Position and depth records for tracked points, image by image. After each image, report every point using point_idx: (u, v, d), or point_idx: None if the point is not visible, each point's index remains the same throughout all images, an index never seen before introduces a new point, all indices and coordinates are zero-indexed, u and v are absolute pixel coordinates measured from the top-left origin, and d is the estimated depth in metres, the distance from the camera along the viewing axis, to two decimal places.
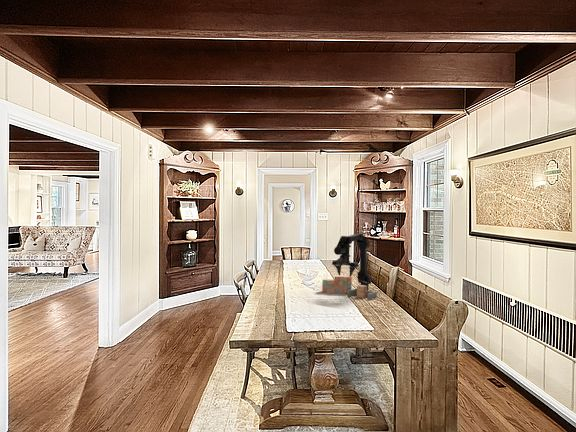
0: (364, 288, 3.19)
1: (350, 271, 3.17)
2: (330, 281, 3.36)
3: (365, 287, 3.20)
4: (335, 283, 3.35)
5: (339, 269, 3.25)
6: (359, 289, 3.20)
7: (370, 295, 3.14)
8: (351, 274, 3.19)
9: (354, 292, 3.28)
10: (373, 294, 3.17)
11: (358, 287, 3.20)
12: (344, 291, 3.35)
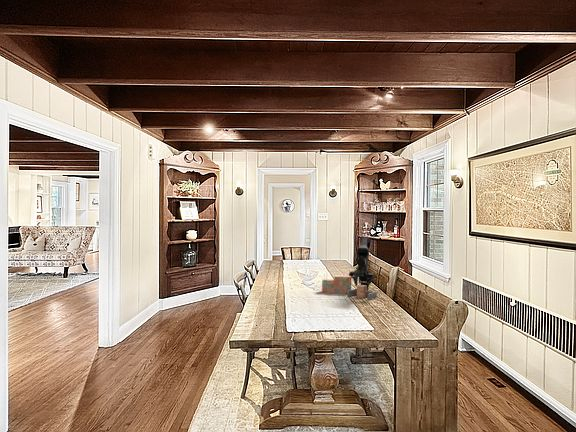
0: (364, 288, 3.19)
1: (367, 282, 3.17)
2: (330, 281, 3.36)
3: (365, 287, 3.20)
4: (335, 283, 3.35)
5: (356, 280, 3.25)
6: (359, 289, 3.20)
7: (370, 295, 3.14)
8: (368, 285, 3.18)
9: (354, 292, 3.28)
10: (373, 294, 3.17)
11: (358, 287, 3.20)
12: (344, 291, 3.35)
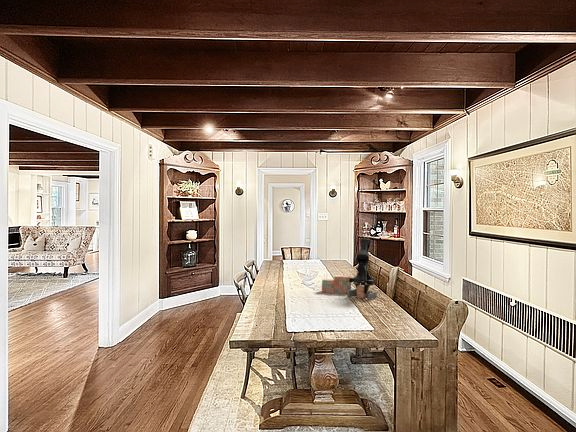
0: (364, 288, 3.19)
1: (365, 288, 3.18)
2: (330, 281, 3.36)
3: None
4: (334, 283, 3.35)
5: None
6: (359, 289, 3.20)
7: (370, 295, 3.14)
8: (366, 291, 3.19)
9: (354, 292, 3.28)
10: (373, 294, 3.17)
11: (358, 287, 3.20)
12: (344, 291, 3.35)
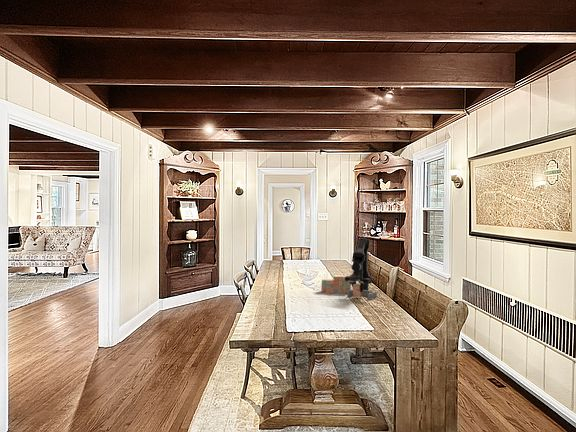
0: (360, 287, 3.15)
1: (361, 287, 3.14)
2: (329, 281, 3.36)
3: None
4: (334, 283, 3.35)
5: None
6: (355, 288, 3.15)
7: (370, 295, 3.14)
8: (362, 290, 3.15)
9: None
10: (373, 294, 3.17)
11: (354, 285, 3.16)
12: (343, 291, 3.35)
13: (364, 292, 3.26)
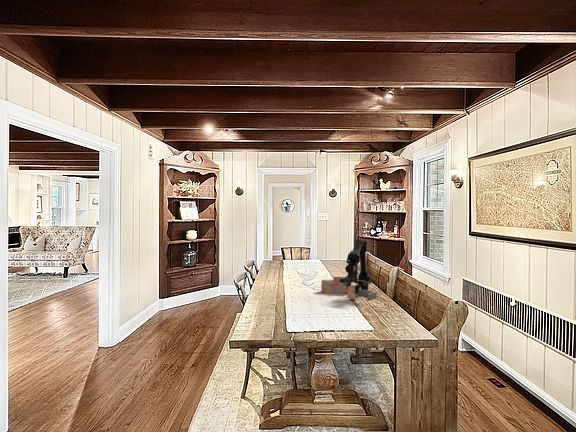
0: (355, 288, 3.10)
1: (356, 289, 3.09)
2: (329, 281, 3.36)
3: None
4: (334, 283, 3.35)
5: None
6: (350, 289, 3.10)
7: (370, 295, 3.14)
8: (357, 292, 3.10)
9: None
10: (373, 294, 3.17)
11: (349, 287, 3.11)
12: (343, 291, 3.35)
13: (364, 292, 3.26)
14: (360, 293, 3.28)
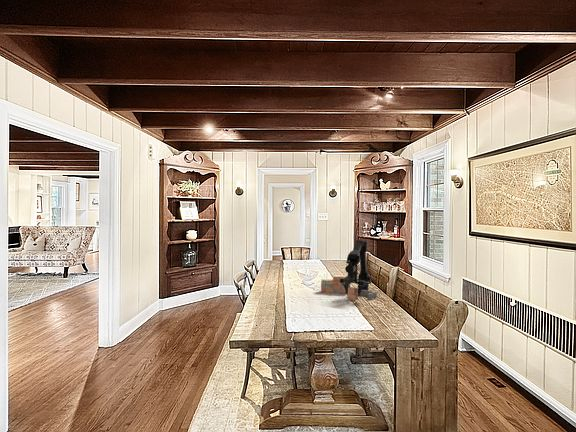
0: (355, 290, 3.10)
1: (358, 290, 3.08)
2: (329, 281, 3.36)
3: (356, 289, 3.11)
4: (334, 283, 3.35)
5: (347, 287, 3.15)
6: (350, 291, 3.11)
7: (370, 295, 3.14)
8: (359, 293, 3.09)
9: None
10: (373, 294, 3.17)
11: (349, 289, 3.11)
12: (343, 291, 3.35)
13: (364, 292, 3.26)
14: (360, 293, 3.28)
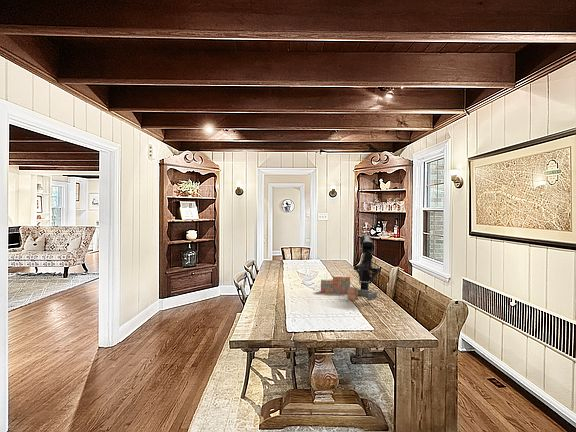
0: (355, 290, 3.10)
1: (372, 276, 3.16)
2: (329, 281, 3.35)
3: (356, 289, 3.11)
4: (333, 283, 3.35)
5: (361, 274, 3.24)
6: (350, 291, 3.11)
7: (370, 295, 3.14)
8: (373, 279, 3.17)
9: None
10: (373, 294, 3.17)
11: (349, 289, 3.11)
12: (343, 291, 3.35)
13: (364, 292, 3.26)
14: (360, 293, 3.28)
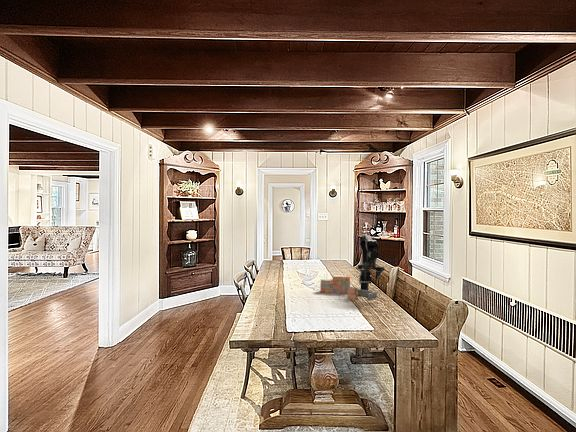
0: (355, 290, 3.10)
1: (376, 275, 3.18)
2: (328, 281, 3.35)
3: (356, 289, 3.11)
4: (333, 283, 3.35)
5: (365, 273, 3.26)
6: (350, 291, 3.11)
7: (370, 295, 3.14)
8: (377, 278, 3.19)
9: None
10: (373, 294, 3.17)
11: (349, 289, 3.11)
12: (342, 291, 3.35)
13: (364, 292, 3.26)
14: (360, 293, 3.28)
